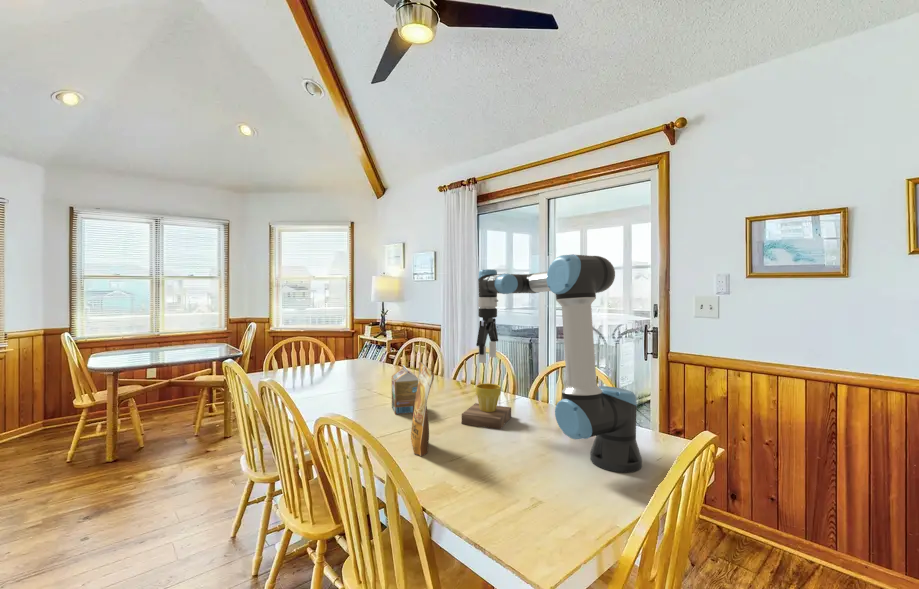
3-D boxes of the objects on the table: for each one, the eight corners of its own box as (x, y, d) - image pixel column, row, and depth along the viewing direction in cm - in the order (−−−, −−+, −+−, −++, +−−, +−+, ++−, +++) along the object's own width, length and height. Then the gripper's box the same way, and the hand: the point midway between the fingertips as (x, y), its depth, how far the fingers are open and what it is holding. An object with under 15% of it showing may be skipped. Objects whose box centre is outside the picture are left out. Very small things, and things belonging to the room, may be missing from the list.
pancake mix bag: (427, 436, 154) (427, 360, 153) (434, 457, 135) (434, 371, 135) (409, 437, 153) (409, 360, 152) (413, 459, 134) (413, 371, 133)
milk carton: (391, 407, 190) (391, 365, 189) (414, 405, 193) (414, 364, 192) (395, 414, 180) (395, 370, 179) (419, 412, 183) (419, 368, 182)
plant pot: (500, 406, 178) (501, 383, 177) (500, 413, 167) (500, 389, 167) (476, 405, 179) (476, 382, 179) (474, 413, 169) (474, 388, 168)
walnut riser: (500, 429, 162) (500, 418, 161) (461, 423, 168) (461, 413, 167) (511, 416, 176) (511, 407, 176) (475, 412, 182) (475, 403, 182)
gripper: (487, 309, 158) (486, 365, 159) (505, 306, 181) (504, 355, 182) (468, 309, 161) (468, 364, 161) (488, 305, 184) (488, 354, 184)
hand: (487, 359), depth 172 cm, fingers open, 13 cm apart
